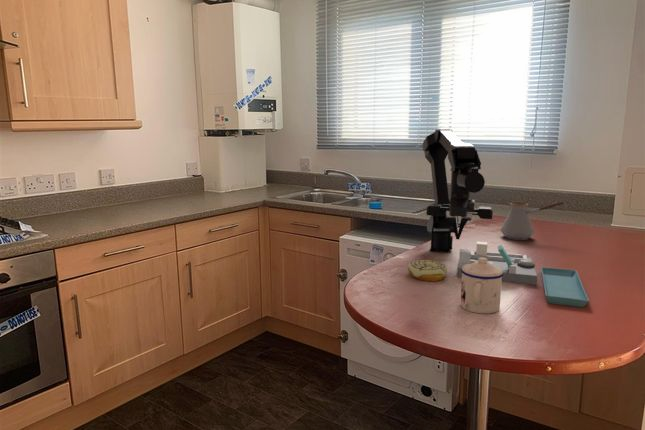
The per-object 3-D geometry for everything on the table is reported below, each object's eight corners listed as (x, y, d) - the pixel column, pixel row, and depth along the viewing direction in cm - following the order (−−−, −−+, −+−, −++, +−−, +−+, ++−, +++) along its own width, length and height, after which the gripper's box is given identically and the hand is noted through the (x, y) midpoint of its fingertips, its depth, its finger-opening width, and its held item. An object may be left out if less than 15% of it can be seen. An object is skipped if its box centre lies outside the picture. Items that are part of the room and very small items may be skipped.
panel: (457, 277, 131) (458, 261, 130) (460, 259, 148) (461, 245, 147) (537, 285, 125) (538, 268, 124) (531, 266, 142) (532, 251, 141)
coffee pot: (496, 238, 176) (499, 198, 173) (504, 232, 185) (506, 194, 182) (560, 246, 164) (564, 203, 161) (564, 240, 174) (568, 199, 171)
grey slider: (458, 265, 133) (459, 251, 132) (459, 262, 135) (460, 249, 135) (470, 266, 132) (470, 252, 131) (470, 263, 134) (471, 250, 134)
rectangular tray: (539, 273, 136) (540, 265, 135) (575, 277, 133) (576, 268, 132) (544, 305, 112) (545, 295, 112) (588, 311, 109) (589, 300, 108)
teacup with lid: (462, 297, 116) (465, 251, 113) (502, 303, 112) (506, 255, 110) (453, 315, 105) (456, 264, 103) (497, 322, 101) (500, 269, 99)
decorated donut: (413, 283, 127) (413, 269, 126) (403, 271, 137) (404, 258, 137) (451, 282, 127) (452, 268, 127) (439, 270, 138) (439, 257, 137)
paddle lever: (511, 272, 127) (497, 251, 128) (510, 267, 132) (497, 246, 132) (516, 269, 127) (502, 248, 127) (515, 264, 131) (501, 244, 132)
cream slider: (475, 256, 141) (476, 243, 141) (476, 254, 144) (476, 241, 143) (486, 257, 140) (487, 244, 140) (486, 255, 143) (487, 242, 143)
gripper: (425, 190, 136) (423, 242, 139) (494, 193, 130) (490, 248, 133) (429, 185, 147) (427, 234, 150) (493, 188, 141) (490, 239, 144)
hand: (457, 239), depth 144 cm, fingers closed
